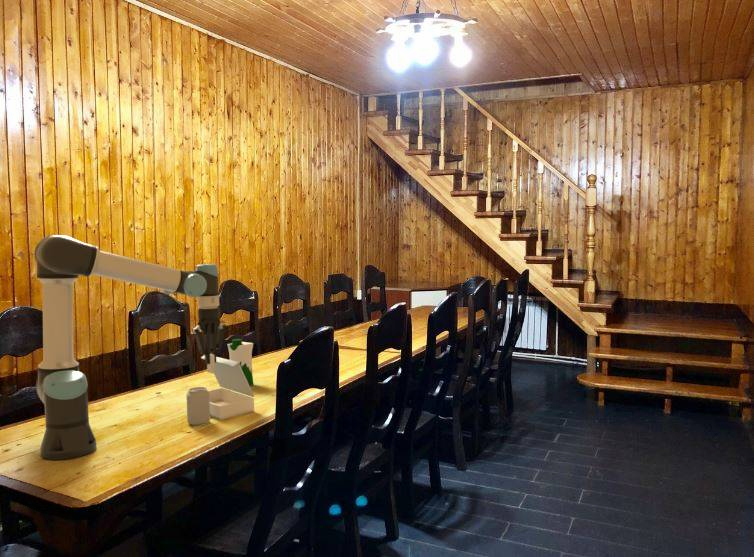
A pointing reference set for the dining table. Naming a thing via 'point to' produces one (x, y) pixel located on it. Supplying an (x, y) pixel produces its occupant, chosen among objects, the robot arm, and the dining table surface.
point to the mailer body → (229, 404)
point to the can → (198, 406)
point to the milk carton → (242, 357)
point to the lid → (231, 376)
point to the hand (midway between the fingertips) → (211, 372)
